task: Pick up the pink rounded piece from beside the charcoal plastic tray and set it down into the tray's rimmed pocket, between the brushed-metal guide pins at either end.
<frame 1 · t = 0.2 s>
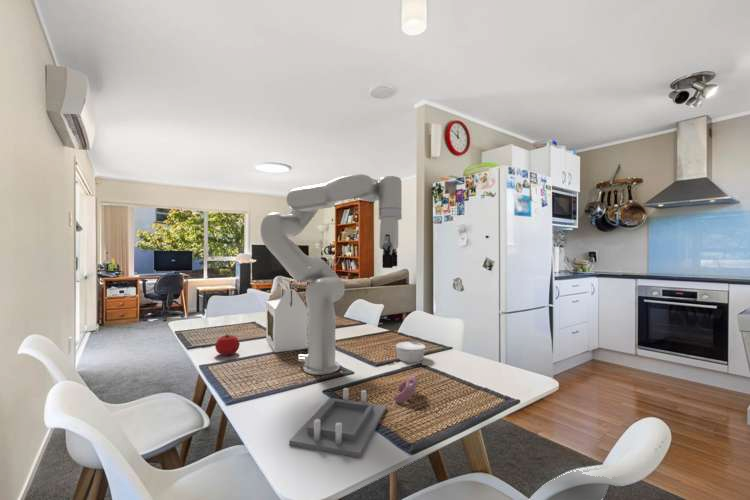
hand: (390, 267, 114), 36 cm above the table, tool pointing down, fingers open, 9 cm apart
tomato: (227, 354, 137), on the table
gable box: (285, 344, 152), on the table
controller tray: (342, 425, 83), on the table
pink rounded piece: (406, 398, 99), on the table
ramekin: (410, 359, 133), on the table
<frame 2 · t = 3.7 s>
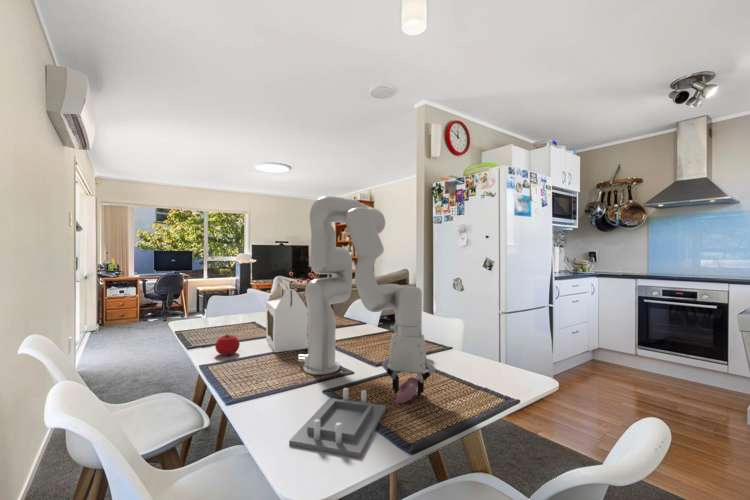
hand: (408, 392, 99), 1 cm above the table, tool pointing down, fingers closed on pink rounded piece, 6 cm apart
pink rounded piece: (408, 398, 99), on the table, touching gripper
everything else where it was.
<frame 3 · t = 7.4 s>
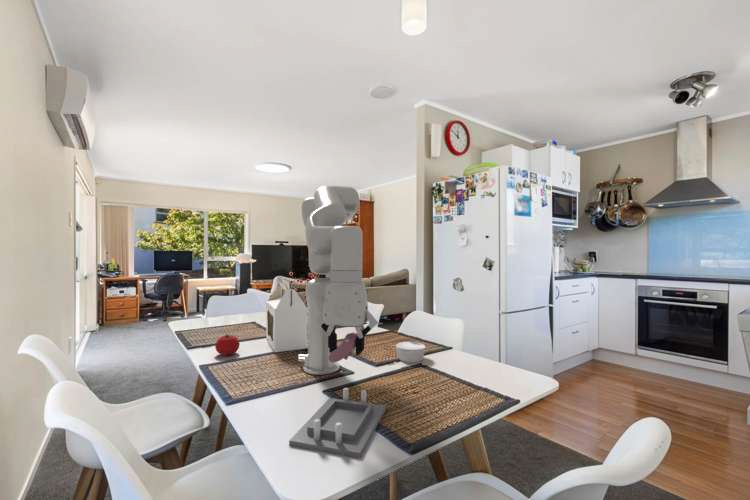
hand: (346, 351, 84), 18 cm above the table, tool pointing down, fingers closed on pink rounded piece, 6 cm apart
pink rounded piece: (346, 358, 84), point 16 cm above the table, touching gripper
everything else where it was.
when the fingers open (3 cm above the table, at t = 11.1 s): pink rounded piece stays where it is, resting on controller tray.
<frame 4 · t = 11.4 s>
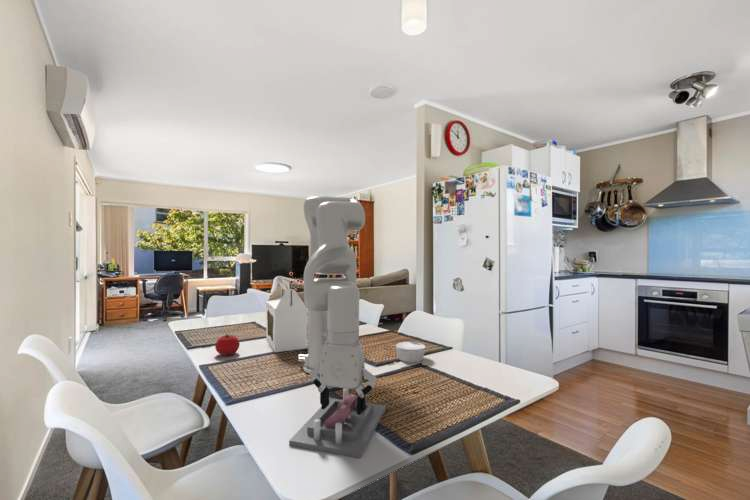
hand: (342, 409, 83), 4 cm above the table, tool pointing down, fingers open, 8 cm apart
pink rounded piece: (342, 421, 83), point 1 cm above the table, touching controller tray
everything else where it was.
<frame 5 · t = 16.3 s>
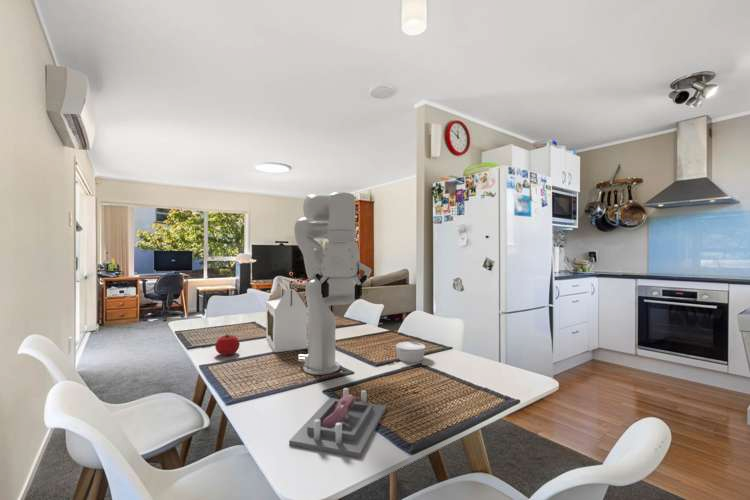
hand: (341, 297, 98), 28 cm above the table, tool pointing down, fingers open, 9 cm apart
nothing on the table moved.
at the end: pink rounded piece 0.5 cm off-centre on the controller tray, point 0.8 cm above the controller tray's base; the gripper is holding nothing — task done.
